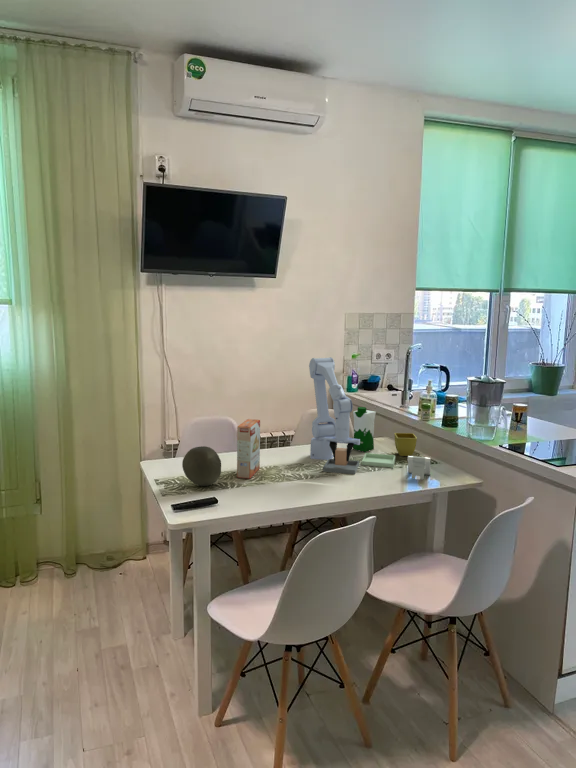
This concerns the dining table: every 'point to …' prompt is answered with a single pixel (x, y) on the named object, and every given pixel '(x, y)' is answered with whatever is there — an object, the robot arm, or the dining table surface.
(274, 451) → the dining table surface
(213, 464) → the dark olive ball
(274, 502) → the dining table surface
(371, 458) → the green tray
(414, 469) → the portable electronic device stand
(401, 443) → the flower pot
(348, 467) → the charcoal tray
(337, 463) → the terracotta block
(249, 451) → the cracker box
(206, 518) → the dining table surface
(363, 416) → the milk carton
